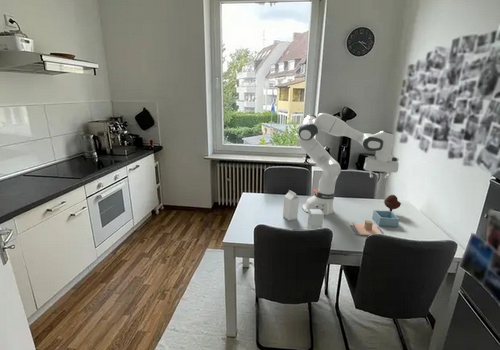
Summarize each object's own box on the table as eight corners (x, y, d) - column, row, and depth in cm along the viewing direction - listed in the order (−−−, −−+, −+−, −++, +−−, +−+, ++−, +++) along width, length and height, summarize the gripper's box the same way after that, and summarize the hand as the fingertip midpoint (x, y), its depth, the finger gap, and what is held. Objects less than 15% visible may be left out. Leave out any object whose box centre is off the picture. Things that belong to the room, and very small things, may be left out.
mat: (356, 234, 170) (356, 233, 170) (350, 225, 182) (350, 224, 181) (385, 236, 169) (386, 235, 169) (378, 227, 181) (378, 226, 181)
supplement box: (318, 227, 178) (320, 209, 174) (321, 232, 171) (324, 214, 167) (307, 226, 178) (309, 208, 174) (309, 232, 170) (311, 213, 167)
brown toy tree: (400, 218, 196) (404, 198, 192) (383, 216, 198) (387, 196, 194) (396, 211, 206) (400, 193, 201) (380, 210, 208) (383, 191, 204)
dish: (378, 226, 183) (380, 217, 181) (372, 217, 194) (373, 210, 192) (397, 227, 182) (399, 219, 180) (389, 219, 194) (391, 211, 192)
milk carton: (288, 220, 185) (291, 194, 179) (282, 216, 190) (284, 190, 185) (297, 219, 188) (300, 192, 182) (291, 214, 194) (293, 189, 188)
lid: (359, 234, 169) (361, 226, 167) (353, 224, 182) (354, 216, 181) (383, 236, 168) (384, 227, 167) (374, 225, 182) (376, 217, 180)
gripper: (367, 157, 172) (363, 178, 176) (401, 159, 170) (396, 180, 175) (364, 154, 178) (360, 175, 182) (397, 156, 176) (392, 177, 181)
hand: (378, 177), depth 178 cm, fingers open, 8 cm apart
